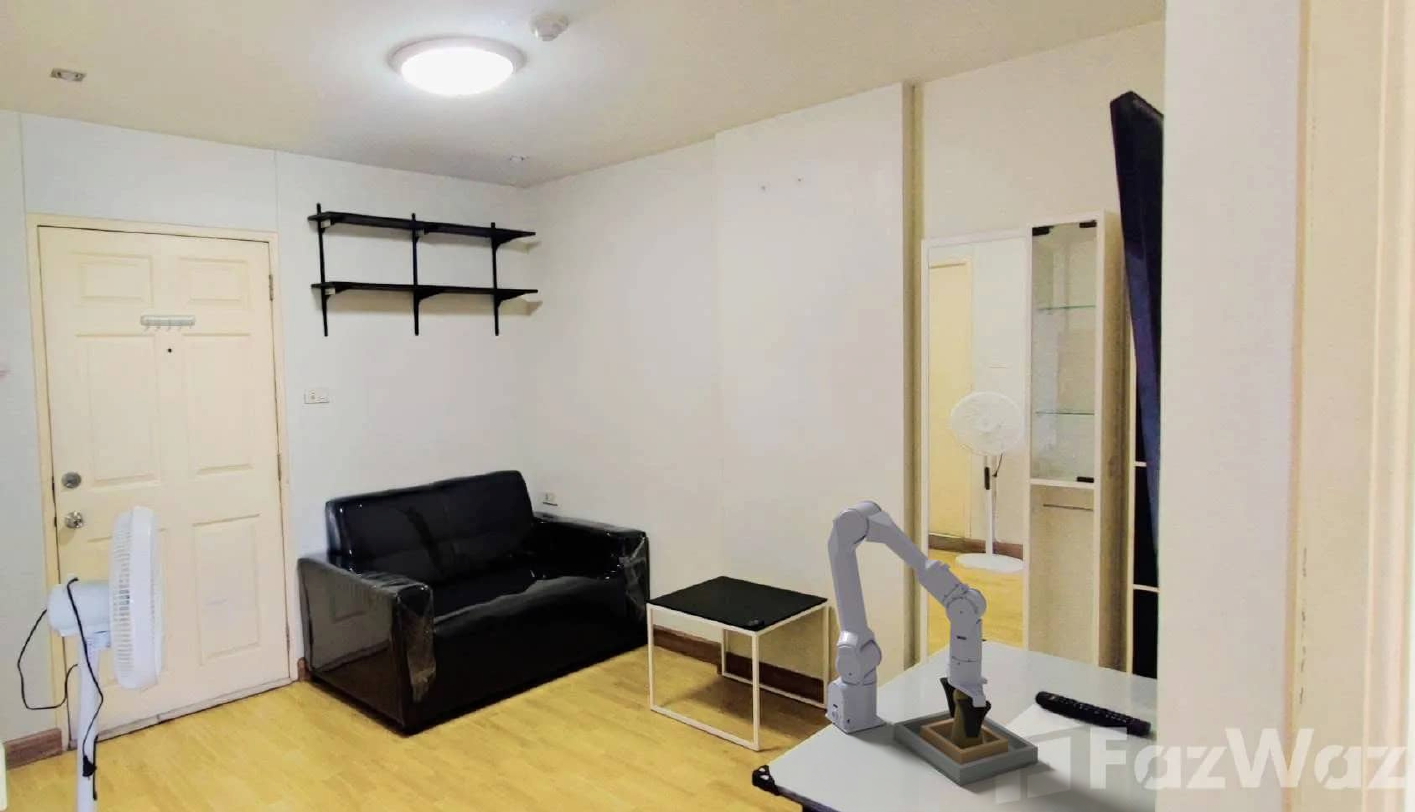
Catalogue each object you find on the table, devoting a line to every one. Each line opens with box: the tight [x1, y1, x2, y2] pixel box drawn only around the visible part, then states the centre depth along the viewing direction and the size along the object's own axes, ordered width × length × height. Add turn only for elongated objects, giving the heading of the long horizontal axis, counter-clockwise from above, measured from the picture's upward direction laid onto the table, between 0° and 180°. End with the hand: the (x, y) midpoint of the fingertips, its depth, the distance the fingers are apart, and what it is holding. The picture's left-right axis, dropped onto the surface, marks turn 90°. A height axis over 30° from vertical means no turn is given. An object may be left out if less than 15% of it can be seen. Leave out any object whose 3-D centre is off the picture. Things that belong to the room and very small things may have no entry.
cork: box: [950, 688, 983, 750], centre depth 145 cm, size 6×6×11 cm
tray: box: [893, 709, 1039, 787], centre depth 145 cm, size 18×18×3 cm
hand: (963, 726), depth 145 cm, fingers open, 7 cm apart
